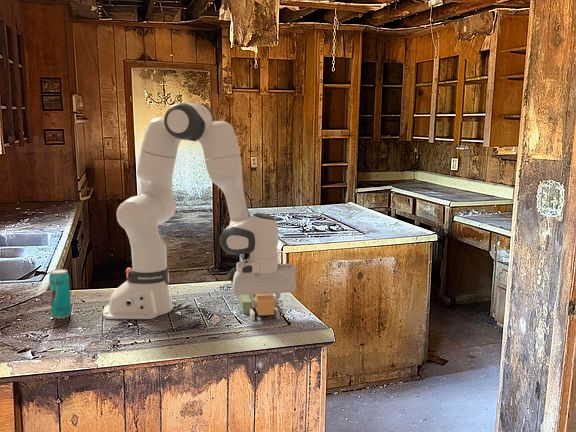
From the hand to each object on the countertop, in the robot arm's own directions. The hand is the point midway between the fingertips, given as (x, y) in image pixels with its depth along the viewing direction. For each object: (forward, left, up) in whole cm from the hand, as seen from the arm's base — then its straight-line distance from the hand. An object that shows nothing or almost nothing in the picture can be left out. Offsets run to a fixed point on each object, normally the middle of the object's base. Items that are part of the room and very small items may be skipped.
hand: (264, 306), depth 172 cm
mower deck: (-1, +8, -4) cm, 9 cm away
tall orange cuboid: (0, 0, -2) cm, 2 cm away
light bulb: (-6, +26, -4) cm, 27 cm away
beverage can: (-64, +13, -4) cm, 65 cm away
